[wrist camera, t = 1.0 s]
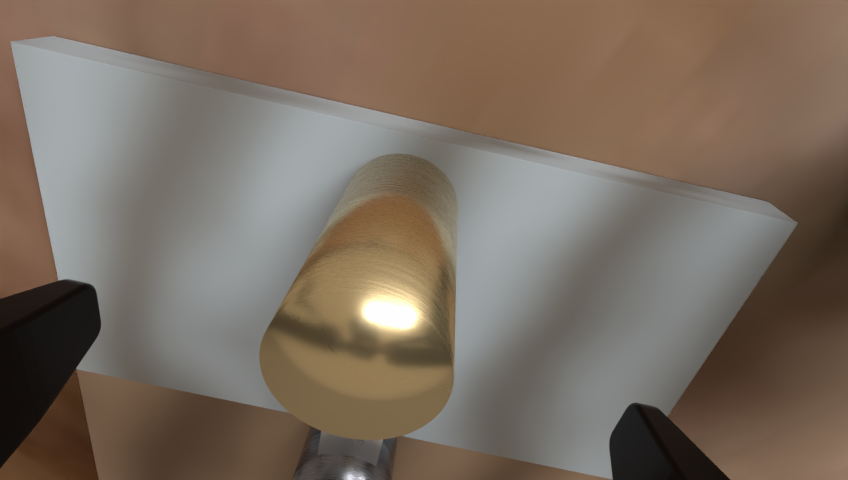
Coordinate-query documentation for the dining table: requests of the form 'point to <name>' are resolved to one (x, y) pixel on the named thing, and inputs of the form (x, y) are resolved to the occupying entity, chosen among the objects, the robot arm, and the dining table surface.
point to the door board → (296, 236)
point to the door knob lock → (370, 321)
